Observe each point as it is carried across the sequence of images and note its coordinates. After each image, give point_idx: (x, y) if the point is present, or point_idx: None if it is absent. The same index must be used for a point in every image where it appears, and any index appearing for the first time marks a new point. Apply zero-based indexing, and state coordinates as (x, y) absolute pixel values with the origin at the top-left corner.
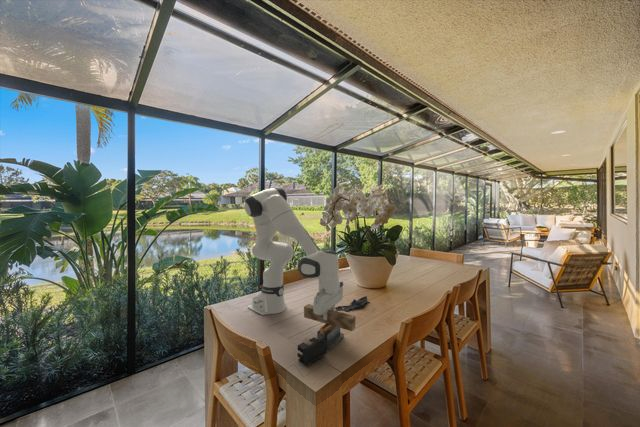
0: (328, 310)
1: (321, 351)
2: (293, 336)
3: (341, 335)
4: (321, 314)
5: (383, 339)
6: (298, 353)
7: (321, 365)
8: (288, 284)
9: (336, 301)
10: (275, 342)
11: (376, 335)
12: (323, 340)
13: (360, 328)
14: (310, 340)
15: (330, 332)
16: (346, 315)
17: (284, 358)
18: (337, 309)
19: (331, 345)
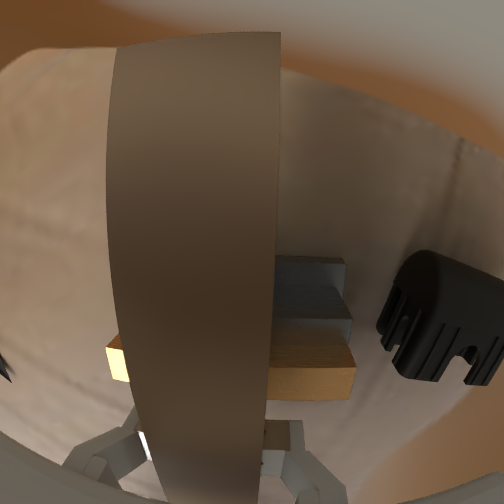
0: (190, 480)
1: (470, 268)
2: None
3: None
4: (498, 474)
5: (81, 50)
6: (474, 360)
7: (462, 238)
8: None
9: (36, 488)
10: (361, 467)
11: (59, 96)
12: (445, 300)
13: (37, 203)
14: (444, 370)
15: (296, 317)
16: (170, 200)
17: (451, 391)
18: (3, 365)
19: (321, 264)
